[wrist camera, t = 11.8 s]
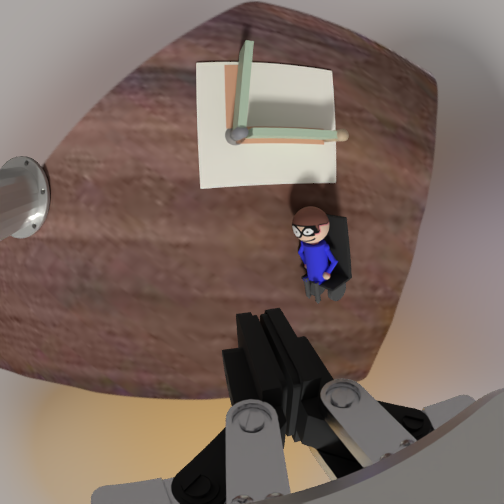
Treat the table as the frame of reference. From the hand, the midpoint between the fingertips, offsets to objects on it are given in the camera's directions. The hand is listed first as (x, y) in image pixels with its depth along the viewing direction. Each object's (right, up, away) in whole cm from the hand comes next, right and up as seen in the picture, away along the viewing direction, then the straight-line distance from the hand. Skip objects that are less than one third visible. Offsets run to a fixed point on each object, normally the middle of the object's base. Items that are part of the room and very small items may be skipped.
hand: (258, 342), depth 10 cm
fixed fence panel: (+5, +20, +26) cm, 33 cm away
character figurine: (+9, +4, +32) cm, 34 cm away
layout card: (+2, +22, +25) cm, 33 cm away
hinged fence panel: (-2, +24, +22) cm, 33 cm away
